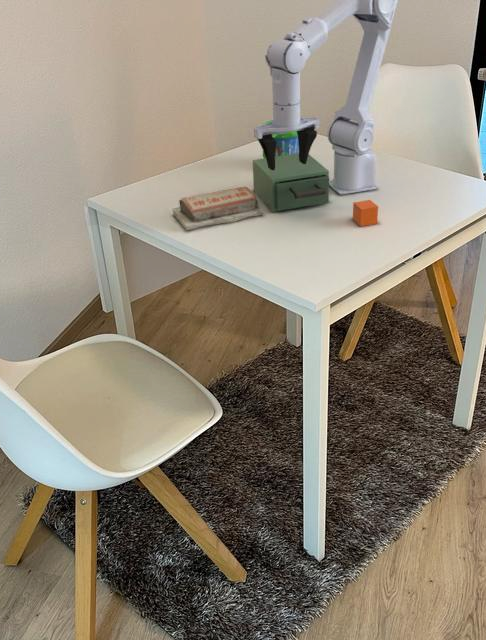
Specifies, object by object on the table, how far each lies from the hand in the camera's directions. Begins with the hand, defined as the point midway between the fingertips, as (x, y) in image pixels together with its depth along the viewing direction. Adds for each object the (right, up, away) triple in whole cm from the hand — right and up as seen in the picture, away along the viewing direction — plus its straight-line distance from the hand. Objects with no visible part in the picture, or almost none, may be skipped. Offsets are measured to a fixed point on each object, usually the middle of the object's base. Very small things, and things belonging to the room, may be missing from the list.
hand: (287, 165), depth 158 cm
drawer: (+2, -6, +8) cm, 10 cm away
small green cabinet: (+1, -4, +12) cm, 13 cm away
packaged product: (-16, -10, +4) cm, 19 cm away
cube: (+17, -12, 0) cm, 21 cm away
